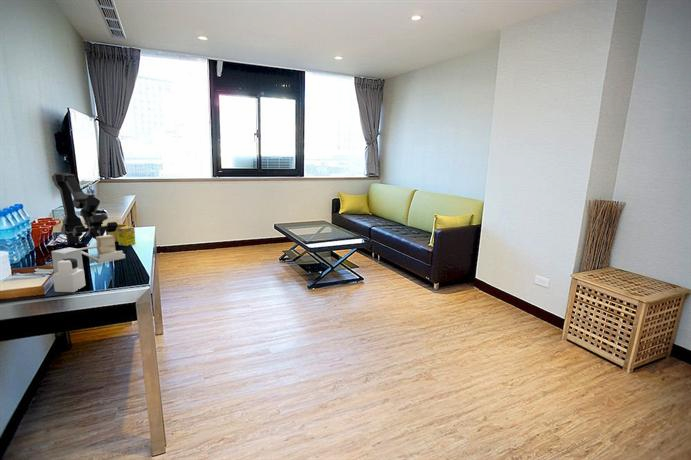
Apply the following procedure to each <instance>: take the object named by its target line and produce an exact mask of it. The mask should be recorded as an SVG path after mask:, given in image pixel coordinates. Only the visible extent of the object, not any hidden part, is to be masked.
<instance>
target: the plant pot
mask: <svg viewBox="0 0 691 460" xmlns="http://www.w3.org/2000/svg"><path fill="white" fill-rule="evenodd" d="M117 224H118V227H117V228H121V227H125V226H128V224H123V223H122V224H121V223H120V224H119V223H117ZM107 233H108V235H111V236H114V240H115V243H116V242H118V230H117V229H116V231H114V232H107ZM118 243H119V242H118Z"/></svg>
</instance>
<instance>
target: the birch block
mask: <svg viewBox="0 0 691 460" xmlns="http://www.w3.org/2000/svg"><path fill="white" fill-rule="evenodd" d="M95 241H96V246H97V248H96V249H97V258H99V255H100V254H106V253H111V252H116V251H117V250H116V242H115V240H114V236H111V235H109V234H104V236H98V237H96V239H95Z"/></svg>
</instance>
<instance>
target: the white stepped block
mask: <svg viewBox="0 0 691 460" xmlns="http://www.w3.org/2000/svg"><path fill="white" fill-rule="evenodd" d="M57 265H58V271H59V272H57V273H55V274H54V273H53V274H52V280H53V289H54V292H55V293H75V292H77V291H79V290H80V289H82V288H84V287H85V286H87V285H86V284H87V283H86V278H85V276H86V275H85V270H84V268H83V269H78V264H77V260H76V259H73V258H67V259H62V260H60V261H58V262H57ZM78 289H79V290H78Z"/></svg>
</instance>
